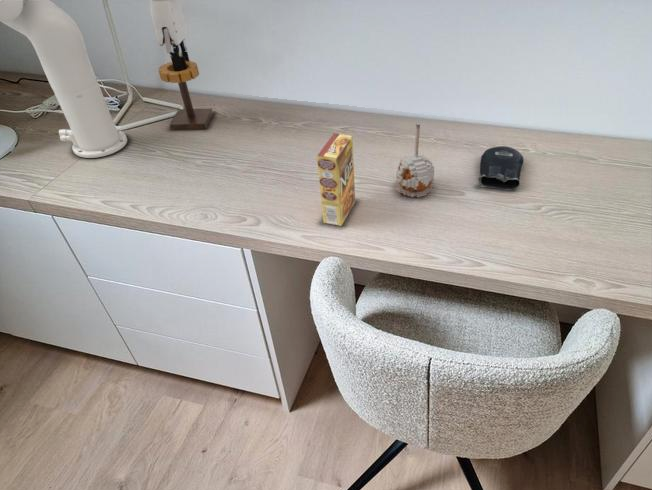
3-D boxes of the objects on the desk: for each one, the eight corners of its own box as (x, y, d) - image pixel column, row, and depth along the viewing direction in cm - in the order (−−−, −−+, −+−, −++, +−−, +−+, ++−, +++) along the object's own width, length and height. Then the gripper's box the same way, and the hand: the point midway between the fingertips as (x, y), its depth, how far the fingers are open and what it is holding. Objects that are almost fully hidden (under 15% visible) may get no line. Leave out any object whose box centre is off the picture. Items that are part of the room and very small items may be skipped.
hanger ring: (155, 83, 119) (153, 74, 118) (166, 68, 126) (164, 60, 125) (194, 82, 120) (192, 74, 118) (203, 68, 126) (201, 60, 125)
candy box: (342, 227, 97) (338, 158, 87) (322, 223, 98) (315, 155, 88) (356, 202, 103) (353, 135, 93) (337, 198, 104) (332, 132, 94)
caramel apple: (390, 183, 108) (391, 119, 98) (421, 175, 110) (426, 112, 100) (405, 202, 103) (408, 136, 92) (438, 193, 105) (445, 128, 94)
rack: (171, 129, 128) (157, 86, 120) (180, 114, 134) (168, 71, 127) (205, 129, 128) (194, 85, 120) (213, 113, 134) (202, 71, 126)
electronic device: (521, 197, 106) (523, 154, 115) (522, 177, 102) (525, 133, 111) (477, 196, 108) (482, 154, 117) (476, 176, 104) (482, 134, 113)
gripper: (156, -20, 119) (176, 59, 131) (134, -1, 107) (159, 83, 119) (187, -20, 119) (204, 58, 131) (169, -2, 107) (190, 82, 119)
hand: (183, 69), depth 125 cm, fingers closed on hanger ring, 2 cm apart
